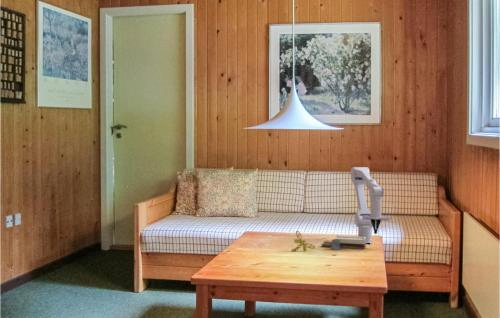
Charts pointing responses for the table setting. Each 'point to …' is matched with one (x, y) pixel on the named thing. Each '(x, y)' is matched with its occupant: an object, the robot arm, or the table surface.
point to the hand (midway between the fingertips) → (375, 233)
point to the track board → (345, 245)
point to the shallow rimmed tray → (351, 239)
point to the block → (335, 244)
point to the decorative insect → (301, 243)
